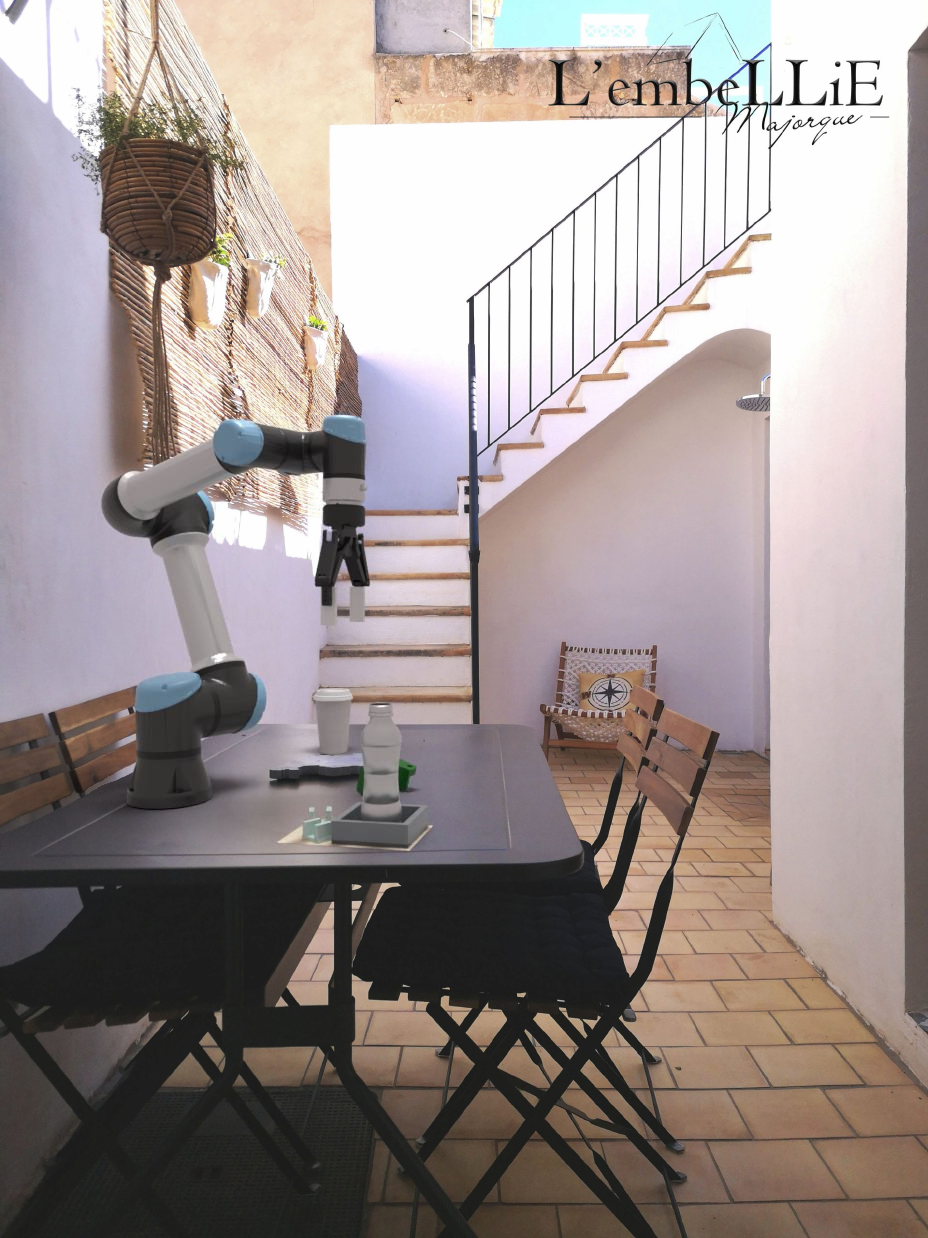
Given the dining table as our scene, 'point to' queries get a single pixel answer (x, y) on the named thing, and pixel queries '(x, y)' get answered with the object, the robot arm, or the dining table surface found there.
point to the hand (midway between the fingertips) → (343, 623)
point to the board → (297, 834)
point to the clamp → (403, 776)
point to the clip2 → (316, 830)
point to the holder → (379, 828)
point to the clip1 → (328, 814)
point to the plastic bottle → (381, 766)
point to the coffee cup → (333, 719)
